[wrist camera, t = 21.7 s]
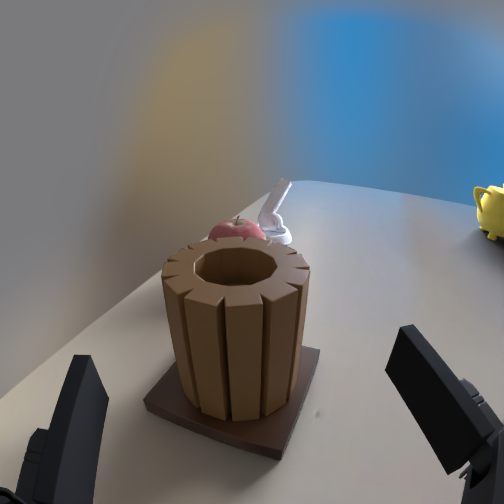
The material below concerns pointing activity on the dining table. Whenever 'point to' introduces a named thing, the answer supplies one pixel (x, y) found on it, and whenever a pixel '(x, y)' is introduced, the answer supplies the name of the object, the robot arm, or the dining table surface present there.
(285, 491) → the dining table surface
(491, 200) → the teapot
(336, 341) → the dining table surface
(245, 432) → the tape stand
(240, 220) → the apple
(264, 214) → the hook
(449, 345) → the dining table surface
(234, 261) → the wooden slatted pot
